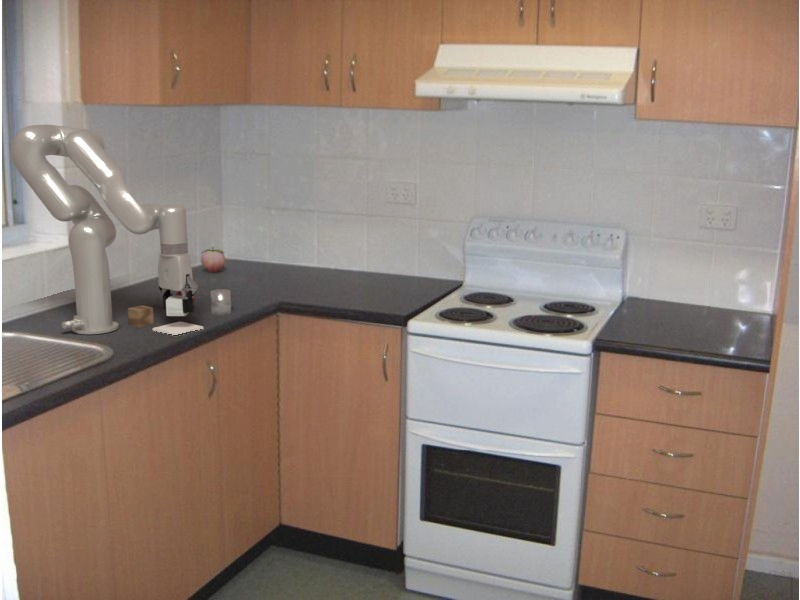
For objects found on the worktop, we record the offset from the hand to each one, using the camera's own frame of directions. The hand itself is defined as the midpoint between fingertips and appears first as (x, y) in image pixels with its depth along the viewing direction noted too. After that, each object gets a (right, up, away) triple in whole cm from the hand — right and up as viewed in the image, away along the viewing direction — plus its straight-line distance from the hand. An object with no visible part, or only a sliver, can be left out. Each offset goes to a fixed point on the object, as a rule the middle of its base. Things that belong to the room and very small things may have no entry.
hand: (178, 309), depth 250 cm
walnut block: (-13, -4, +8) cm, 16 cm away
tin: (+8, -1, +22) cm, 24 cm away
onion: (-5, 0, +27) cm, 28 cm away
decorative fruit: (-9, +13, +88) cm, 90 cm away
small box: (0, -1, 0) cm, 1 cm away
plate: (0, -6, +1) cm, 6 cm away
